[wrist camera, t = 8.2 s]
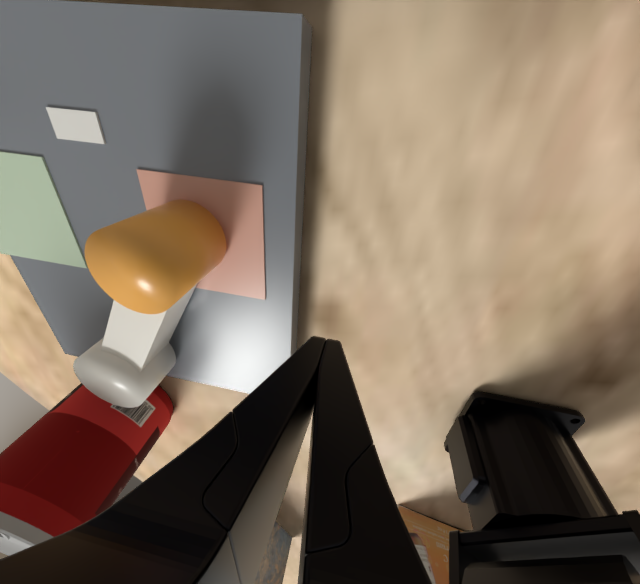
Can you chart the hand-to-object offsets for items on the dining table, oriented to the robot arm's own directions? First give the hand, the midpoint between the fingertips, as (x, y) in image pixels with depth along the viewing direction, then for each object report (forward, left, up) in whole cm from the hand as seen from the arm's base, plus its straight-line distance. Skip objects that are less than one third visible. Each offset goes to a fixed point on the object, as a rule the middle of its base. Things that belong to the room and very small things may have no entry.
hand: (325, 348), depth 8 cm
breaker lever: (+10, +4, -6) cm, 12 cm away
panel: (+12, +1, -8) cm, 14 cm away
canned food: (+18, +17, -8) cm, 26 cm away
